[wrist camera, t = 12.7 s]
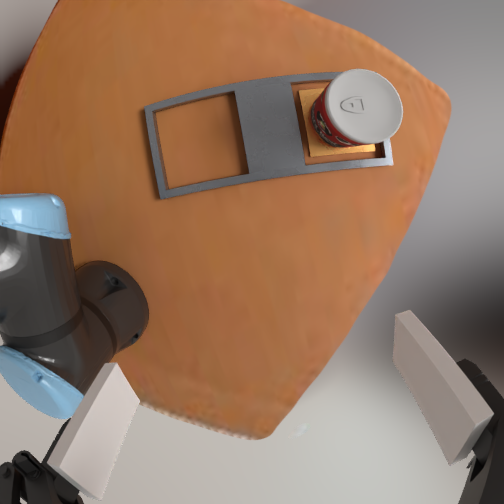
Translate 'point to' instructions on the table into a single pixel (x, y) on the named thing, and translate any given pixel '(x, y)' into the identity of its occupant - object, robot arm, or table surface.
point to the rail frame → (265, 132)
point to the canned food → (356, 110)
